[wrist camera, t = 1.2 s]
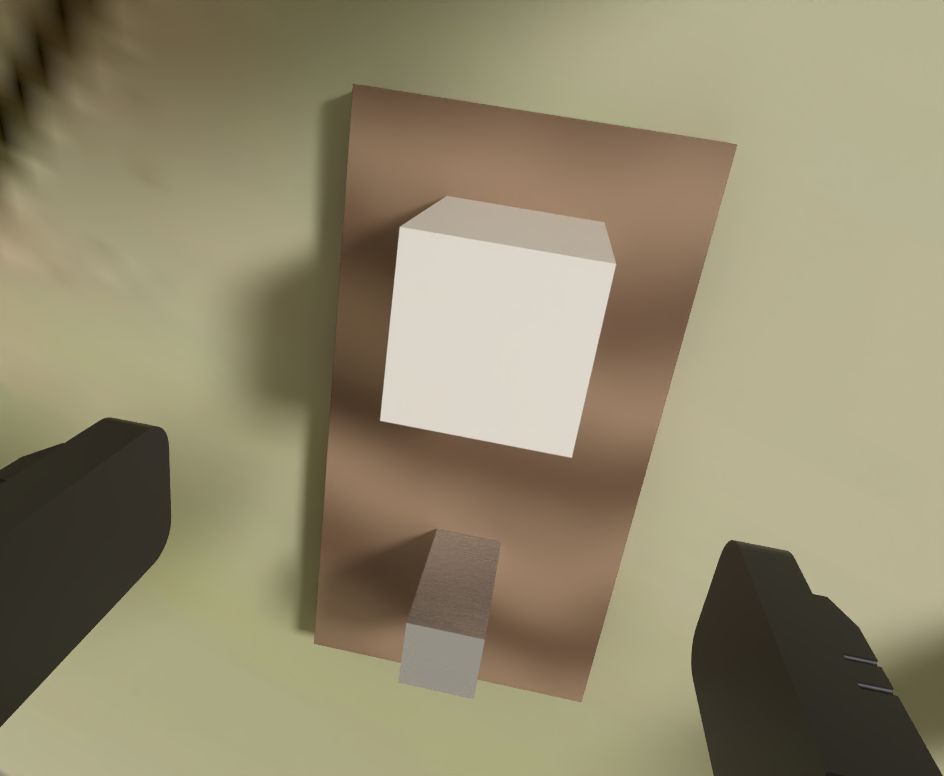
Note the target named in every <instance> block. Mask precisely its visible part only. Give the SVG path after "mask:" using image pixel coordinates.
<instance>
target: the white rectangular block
mask: <svg viewBox="0 0 944 776" xmlns="http://www.w3.org/2000/svg"><path fill="white" fill-rule="evenodd" d="M615 267H616V262H615V258H614V255H613V251H612V247H611V244H610V240H609V237H608V233H607V229H606V226H605V222H600V221H594V220H588V219H582V218H576V217H570V216H564V215H558V214H552V213H546V212H540V211H534V210H528V209H522V208H516V207H510V206H504V205H498V204H492V203H487V202H481V201H475V200H469V199H463V198H457V197H451V196H446V197H444V198H443V199H441V200H440V201H438V202H437V203H435V204H434V205H432V206H431V207H429V208H428V209H426V210H424V211H423V212H421V213H420V214H418V215H417V216H415V217H414V218H412V219H411V220H409V221H408V222H406V223H405V224H403V225H402V226H400V229H399V239H398V249H397V259H396V268H395V278H394V288H393V298H392V308H391V318H390V327H389V337H388V347H387V357H386V367H385V377H384V386H383V396H382V406H381V416H380V421H384V422H389V423H394V424H399V425H405V426H410V427H415V428H420V429H425V430H430V431H436V432H441V433H446V434H451V435H456V436H461V437H467V438H472V439H477V440H482V441H487V442H493V443H498V444H503V445H508V446H513V447H518V448H524V449H529V450H534V451H539V452H544V453H549V454H555V455H560V456H565V457H570V458H572V455H573V450H574V446H575V442H576V437H577V433H578V429H579V424H580V420H581V415H582V411H583V407H584V402H585V398H586V394H587V389H588V385H589V381H590V376H591V372H592V367H593V363H594V359H595V354H596V350H597V346H598V341H599V337H600V332H601V328H602V324H603V319H604V315H605V311H606V306H607V302H608V297H609V293H610V289H611V284H612V280H613V276H614V271H615Z"/></svg>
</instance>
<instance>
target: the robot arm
mask: <svg viewBox="0 0 944 776" xmlns="http://www.w3.org/2000/svg"><path fill="white" fill-rule="evenodd" d="M170 526H171V499H170V467H169V442H168V437H167V435H166V432H165V431H164V430H163V429H162V428H160V427H157V426H152V425H147V424H142V423H137V422H132V421H126V420H121V419H116V418H104V419H102V420H100V421H98V422H97V423H95V424H94V425H92V426H91V427H89V428H87V429H86V430H84V431H83V432H81V433H80V434H78V435H76V436H75V437H73V438H72V439H70V440H69V441H67V442H66V443H61V444H59V445H56V446H53V447H50V448H47V449H44V450H41V451H38V452H35V453H32V454H29V455H26V456H23V457H21V458H19V459H18V460H16V461H14V462H13V463H11V464H10V465H8V466H6V467H5V468H3V469H1V470H0V727H1V726H2V725H3V724H4V723H5V722H6V721H7V719H8V718H9V717H10V716H11V715H12V714H13V713H14V712H15V711H16V710H17V709H18V708H19V707H20V706H21V705H22V703H23V702H24V701H25V700H26V699H27V698H28V697H29V696H30V695H31V694H32V693H33V692H34V691H35V690H36V689H37V688H38V686H39V685H40V684H41V683H42V682H43V681H44V680H45V679H46V678H47V677H48V676H49V675H50V674H51V673H52V672H53V670H54V669H55V668H56V667H57V666H58V665H59V664H60V663H61V662H62V661H63V660H64V659H65V658H66V657H67V656H68V655H69V653H70V652H71V651H72V650H73V649H74V648H75V647H76V646H77V645H78V644H79V643H80V642H81V641H82V640H83V639H84V637H85V636H86V635H87V634H88V633H89V632H90V631H91V630H92V629H93V628H94V627H95V626H96V625H97V624H98V623H99V622H100V620H101V619H102V618H103V617H104V616H105V615H106V614H107V613H108V612H109V611H110V610H111V609H112V608H113V607H114V606H115V605H116V603H117V602H118V601H119V600H120V599H121V598H122V597H123V596H124V595H125V594H126V593H127V592H128V591H129V590H130V589H131V587H132V586H133V585H134V584H135V583H136V582H137V581H138V580H139V579H140V578H141V577H142V576H143V575H144V574H145V573H146V572H147V570H148V569H149V568H150V567H151V566H152V565H153V564H154V563H155V562H156V560H157V559H158V558H159V556H160V554H161V553H162V551H163V549H164V547H165V544H166V542H167V539H168V535H169V531H170ZM877 661H878V660H877V659H876V657H875V655H874V653H873V652H872V650H871V648H870V646H869V644H868V643H867V641H866V639H865V637H864V636H863V634H862V632H861V630H860V629H859V627H858V626H857V625H856V624H855V623H854V622H853V621H852V620H851V619H850V618H848V617H847V616H846V615H845V614H844V613H843V612H842V611H841V610H840V609H839V608H838V607H837V606H836V605H835V604H834V603H833V602H832V601H831V600H830V599H829V598H828V597H825V596H820V595H815V594H812V592H811V590H810V588H809V586H808V584H807V582H806V580H805V578H804V576H803V574H802V572H801V570H800V568H799V566H798V564H797V562H796V560H795V558H794V557H793V555H792V554H791V553H790V552H789V551H786V550H780V549H775V548H770V547H765V546H760V545H755V544H750V543H745V542H739V541H734V540H731V541H729V542H728V543H727V544H726V545H725V547H724V549H723V551H722V553H721V556H720V559H719V561H718V564H717V567H716V570H715V573H714V576H713V579H712V582H711V585H710V588H709V591H708V594H707V597H706V600H705V603H704V606H703V609H702V612H701V615H700V617H699V620H698V623H697V626H696V630H695V634H694V638H693V645H692V656H691V665H692V676H693V682H694V686H695V691H696V695H697V700H698V705H699V709H700V714H701V718H702V723H703V728H704V732H705V737H706V742H707V746H708V751H709V755H710V760H711V765H712V769H713V774H714V776H942V774H941V772H940V770H939V768H938V767H937V765H936V763H935V761H934V760H933V758H932V756H931V754H930V753H929V751H928V749H927V747H926V745H925V744H924V742H923V740H922V738H921V737H920V735H919V733H918V731H917V729H916V728H915V726H914V724H913V722H912V721H911V719H910V717H909V715H908V714H907V712H906V710H905V708H904V706H903V705H902V703H901V701H900V699H899V698H898V696H895V695H893V687H892V685H891V683H890V682H889V680H888V678H887V676H886V675H885V673H884V671H883V669H882V668H881V667H878V666H877Z"/></svg>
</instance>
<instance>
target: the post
mask: <svg viewBox="0 0 944 776" xmlns="http://www.w3.org/2000/svg"><path fill="white" fill-rule="evenodd" d="M500 547H501V541H497V540H492V539H487V538H482V537H477V536H473V535H468V534H463V533H458V532H453V531H448V530H443V529H438V528H437V531H436V534H435V537H434V540H433V543H432V546H431V549H430V552H429V555H428V559H427V562H426V565H425V568H424V571H423V574H422V577H421V580H420V583H419V586H418V589H417V592H416V595H415V598H414V601H413V604H412V607H411V610H410V613H409V617H408V620H407V623H406V630H405V637H404V644H403V652H402V659H401V666H400V674H399V681H398V682H399V683H404V684H408V685H413V686H417V687H422V688H426V689H431V690H435V691H440V692H444V693H449V694H453V695H458V696H462V697H467V698H472V699H473V698H474V693H475V688H476V683H477V678H478V673H479V668H480V662H481V657H482V652H483V647H484V642H485V636H486V630H487V625H488V619H489V613H490V607H491V601H492V595H493V589H494V583H495V577H496V571H497V565H498V559H499V553H500Z"/></svg>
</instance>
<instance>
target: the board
mask: <svg viewBox="0 0 944 776" xmlns="http://www.w3.org/2000/svg"><path fill="white" fill-rule="evenodd" d="M736 147H737V145H736V144H731V143H726V142H719V141H713V140H707V139H700V138H694V137H688V136H681V135H675V134H669V133H662V132H656V131H650V130H643V129H637V128H631V127H624V126H618V125H612V124H605V123H599V122H592V121H586V120H580V119H573V118H567V117H561V116H554V115H548V114H542V113H535V112H529V111H523V110H516V109H510V108H504V107H497V106H491V105H485V104H478V103H472V102H465V101H459V100H453V99H446V98H440V97H434V96H427V95H421V94H415V93H408V92H402V91H396V90H389V89H383V88H377V87H370V86H363V85H355V84H353V91H352V106H351V120H350V135H349V149H348V163H347V178H346V192H345V206H344V221H343V235H342V249H341V264H340V278H339V293H338V307H337V321H336V336H335V350H334V364H333V379H332V393H331V407H330V422H329V436H328V450H327V465H326V479H325V494H324V508H323V522H322V537H321V551H320V565H319V580H318V594H317V608H316V623H315V637H314V644H318V645H322V646H327V647H332V648H336V649H341V650H345V651H350V652H354V653H359V654H364V655H368V656H373V657H377V658H382V659H386V660H391V661H396V662H400V663H401V659H402V652H403V644H404V637H405V630H406V623H407V620H408V617H409V613H410V610H411V607H412V604H413V601H414V598H415V595H416V592H417V589H418V586H419V583H420V580H421V577H422V574H423V571H424V568H425V565H426V562H427V559H428V555H429V552H430V549H431V546H432V543H433V540H434V537H435V534H436V531H437V528H438V529H443V530H448V531H453V532H458V533H463V534H468V535H473V536H477V537H482V538H487V539H492V540H497V541H501V547H500V553H499V559H498V565H497V571H496V577H495V583H494V589H493V595H492V601H491V607H490V613H489V619H488V625H487V630H486V636H485V642H484V647H483V652H482V657H481V662H480V668H479V673H478V678H477V679H478V680H482V681H487V682H492V683H496V684H501V685H505V686H510V687H514V688H519V689H524V690H528V691H533V692H537V693H542V694H546V695H551V696H556V697H560V698H565V699H569V700H574V701H578V702H582V698H583V695H584V691H585V688H586V684H587V680H588V677H589V673H590V670H591V666H592V663H593V659H594V655H595V652H596V648H597V645H598V641H599V638H600V634H601V630H602V627H603V623H604V620H605V616H606V612H607V609H608V605H609V602H610V598H611V595H612V591H613V587H614V584H615V580H616V577H617V573H618V570H619V566H620V562H621V559H622V555H623V552H624V548H625V545H626V541H627V537H628V534H629V530H630V527H631V523H632V519H633V516H634V512H635V509H636V505H637V502H638V498H639V494H640V491H641V487H642V484H643V480H644V477H645V473H646V469H647V466H648V462H649V459H650V455H651V451H652V448H653V444H654V441H655V437H656V434H657V430H658V426H659V423H660V419H661V416H662V412H663V409H664V405H665V401H666V398H667V394H668V391H669V387H670V383H671V380H672V376H673V373H674V369H675V366H676V362H677V358H678V355H679V351H680V348H681V344H682V341H683V337H684V333H685V330H686V326H687V323H688V319H689V315H690V312H691V308H692V305H693V301H694V298H695V294H696V290H697V287H698V283H699V280H700V276H701V273H702V269H703V265H704V262H705V258H706V255H707V251H708V247H709V244H710V240H711V237H712V233H713V230H714V226H715V222H716V219H717V215H718V212H719V208H720V205H721V201H722V197H723V194H724V190H725V187H726V183H727V179H728V176H729V172H730V169H731V165H732V162H733V158H734V154H735V151H736ZM446 196H451V197H457V198H463V199H469V200H475V201H481V202H487V203H492V204H498V205H504V206H510V207H516V208H522V209H528V210H534V211H540V212H546V213H552V214H558V215H564V216H570V217H576V218H582V219H588V220H594V221H600V222H605V226H606V229H607V233H608V237H609V240H610V244H611V247H612V251H613V255H614V258H615V262H616V267H615V271H614V276H613V280H612V284H611V289H610V293H609V297H608V302H607V306H606V311H605V315H604V319H603V324H602V328H601V332H600V337H599V341H598V346H597V350H596V354H595V359H594V363H593V367H592V372H591V376H590V381H589V385H588V389H587V394H586V398H585V402H584V407H583V411H582V415H581V420H580V424H579V429H578V433H577V437H576V442H575V446H574V450H573V455H572V458H570V457H565V456H560V455H555V454H549V453H544V452H539V451H534V450H529V449H524V448H518V447H513V446H508V445H503V444H498V443H493V442H487V441H482V440H477V439H472V438H467V437H461V436H456V435H451V434H446V433H441V432H436V431H430V430H425V429H420V428H415V427H410V426H405V425H399V424H394V423H389V422H384V421H380V416H381V406H382V396H383V386H384V377H385V367H386V357H387V347H388V337H389V327H390V318H391V308H392V298H393V288H394V278H395V268H396V259H397V249H398V239H399V229H400V226H402V225H403V224H405V223H406V222H408V221H409V220H411V219H412V218H414V217H415V216H417V215H418V214H420V213H421V212H423V211H424V210H426V209H428V208H429V207H431V206H432V205H434V204H435V203H437V202H438V201H440V200H441V199H443V198H444V197H446Z"/></svg>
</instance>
